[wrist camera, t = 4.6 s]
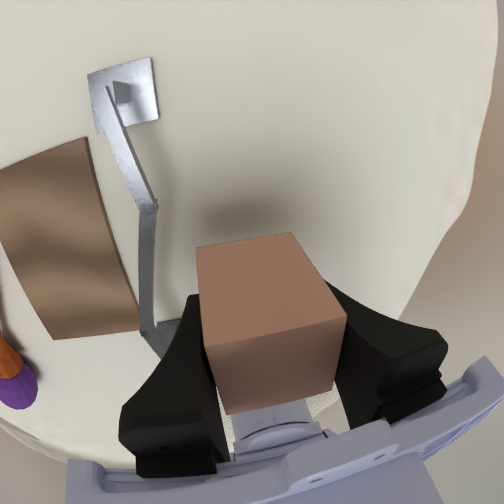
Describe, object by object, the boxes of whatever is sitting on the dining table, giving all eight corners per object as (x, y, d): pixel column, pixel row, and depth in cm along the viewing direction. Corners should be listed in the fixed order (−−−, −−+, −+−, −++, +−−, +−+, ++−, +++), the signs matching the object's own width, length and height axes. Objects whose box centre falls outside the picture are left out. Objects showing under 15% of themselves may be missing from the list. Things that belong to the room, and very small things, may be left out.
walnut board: (146, 324, 24) (145, 329, 23) (54, 335, 23) (53, 340, 22) (86, 136, 16) (83, 138, 15) (-17, 178, 14) (-21, 180, 14)
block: (291, 303, 16) (331, 390, 11) (211, 319, 16) (226, 415, 11) (290, 231, 14) (347, 315, 9) (195, 247, 13) (204, 346, 8)
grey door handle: (210, 345, 27) (217, 392, 22) (169, 352, 26) (170, 399, 22) (151, 59, 14) (136, 44, 10) (91, 75, 14) (56, 70, 9)
